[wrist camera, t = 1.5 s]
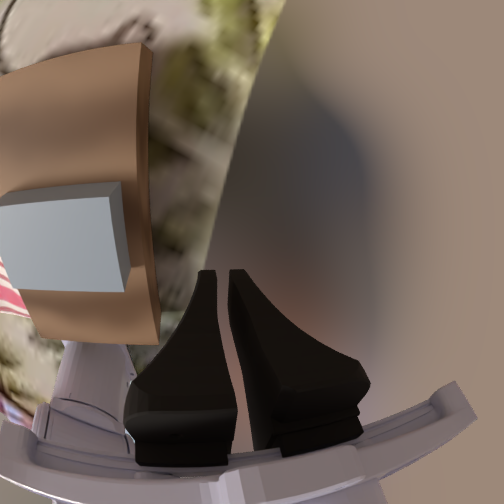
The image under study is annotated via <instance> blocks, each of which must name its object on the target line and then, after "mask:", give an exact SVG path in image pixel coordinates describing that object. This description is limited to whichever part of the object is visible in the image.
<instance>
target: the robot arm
mask: <svg viewBox="0 0 504 504" xmlns="http://www.w3.org/2000/svg"><path fill="white" fill-rule="evenodd" d="M228 314H229V322H230V327H231V331H232V335H233V339H234V343H235V347H236V351H237V355H238V358H239V362H240V366H241V370H242V375H243V381H244V387H245V393H246V399H247V406H248V412H249V419H250V426H251V432H252V440H253V447H254V451H252V452H245V453H235V454H231V447H232V441H233V440H234V433H235V427H236V420H237V412H238V409H237V403H236V397H235V392H234V389H233V386H232V382H231V379H230V375H229V371H228V367H227V363H226V359H225V354H224V350H223V346H222V340H221V335H220V329H219V324H218V318H217V277H216V272H215V270H200V271H199V272H198V279H197V283H196V286H195V290H194V292H193V295H192V297H191V300H190V303H189V305H188V307H187V309H186V311H185V313H184V315H183V317H182V319H181V321H180V323H179V324H178V326H177V328H176V329H175V331H174V333H173V334H172V336H171V337H170V338H169V340H168V341H167V343H166V344H165V346H164V347H163V348H162V350H161V351H160V352H159V353H158V354H157V356H156V357H155V358H154V359H153V360H152V361H151V363H150V364H149V365H148V366H147V367H146V368H145V369H144V370H143V371H142V372H141V373H140V374H139V375H138V376H137V373H136V371H135V368H134V365H133V363H132V360H131V357H130V354H129V352H128V349H127V346H126V344H106V343H90V342H77V341H66V340H62V342H63V344H64V346H65V350H64V354H63V357H62V360H61V364H60V367H59V371H58V375H57V378H56V382H55V386H54V390H53V394H52V399H51V402H50V404H48V403H46V402H42V403H41V404H38V405H37V408H36V411H35V415H34V420H33V424H32V429H31V430H30V429H28V428H26V427H24V426H21V425H18V424H15V423H12V422H9V421H6V420H3V422H2V427H1V431H0V477H2V478H4V479H6V480H7V481H9V482H11V483H13V484H15V485H17V486H20V487H22V488H24V489H26V490H28V491H31V492H33V493H36V494H38V495H41V496H44V497H47V498H50V499H52V500H53V504H388V503H387V501H386V498H385V495H384V493H383V490H382V488H381V485H380V483H379V480H381V479H383V478H385V477H387V476H389V475H391V474H393V473H395V472H397V471H399V470H401V469H403V468H405V467H407V466H409V465H411V464H412V463H414V462H416V461H418V460H419V459H421V458H423V457H425V456H426V455H428V454H430V453H431V452H433V451H434V450H436V449H438V448H439V447H440V446H442V445H444V444H445V443H447V442H448V441H450V440H451V439H452V438H454V437H455V436H457V435H458V434H459V433H461V432H462V431H463V430H464V429H466V428H467V427H468V426H469V425H471V424H472V423H473V422H474V421H476V420H477V416H476V414H475V413H474V411H473V409H472V407H471V406H470V404H469V402H468V400H467V399H466V397H465V395H464V394H463V392H462V391H461V389H460V387H459V386H458V384H457V383H456V381H452V382H451V383H449V384H447V385H445V386H443V387H441V388H440V389H438V390H437V391H436V392H434V394H432V396H431V397H430V398H429V399H428V400H426V401H424V402H422V403H419V404H417V405H415V406H413V407H411V408H408V409H406V410H404V411H401V412H399V413H397V414H394V415H392V416H389V417H386V418H384V419H381V420H379V421H376V422H373V423H370V424H368V425H365V426H361V424H360V421H359V419H358V417H357V416H358V415H359V414H360V411H359V409H358V407H357V405H358V403H359V402H360V401H361V400H362V398H363V397H364V396H365V395H366V393H367V392H368V390H369V388H370V384H371V383H370V381H369V379H368V377H367V375H366V373H365V370H364V369H363V367H362V366H361V364H360V362H359V361H358V360H355V359H353V358H351V357H348V356H346V355H344V354H341V353H339V352H337V351H335V350H333V349H331V348H330V347H328V346H326V345H324V344H322V343H321V342H319V341H317V340H316V339H314V338H313V337H311V336H310V335H308V334H307V333H305V332H304V331H302V330H301V329H300V328H298V327H297V326H296V325H294V324H293V323H292V322H291V321H290V320H288V319H287V318H286V317H285V316H284V315H283V314H282V313H281V312H280V311H279V310H278V309H277V308H276V307H275V306H274V305H273V304H272V303H271V302H270V301H269V300H268V299H267V298H266V296H265V295H264V294H263V293H262V292H261V291H260V289H259V288H258V287H257V286H256V284H255V283H254V282H253V280H252V279H251V278H250V276H249V275H248V274H247V272H246V271H245V270H244V269H234V270H230V272H229V288H228ZM130 380H133V381H132V382H131V384H130ZM125 428H126V430H127V431H128V432H129V434H130V435H131V436H132V438H133V439H134V440H135V443H134V442H133V440H132V438H131V436H130V435H128V434H125ZM194 476H195V477H194ZM198 476H203V477H198ZM180 477H193V478H180Z"/></svg>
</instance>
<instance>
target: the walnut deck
mask: <svg viewBox="0 0 504 504" xmlns="http://www.w3.org/2000/svg"><path fill="white" fill-rule="evenodd" d="M152 57H153V52H152V51H151V50H149V49H148V48H147V47H146V46H145V45H144V44H143V43H142V42H140V43H130V44H122V45H114V46H108V47H101V48H96V49H90V50H85V51H81V52H76V53H72V54H68V55H64V56H60V57H56V58H52V59H49V60H46V61H42V62H39V63H36V64H33V65H30V66H27V67H24V68H21V69H19V70H16V71H13V72H11V73H8V74H6V75H3V76H1V77H0V197H2V196H3V195H4V194H6V193H9V192H16V191H23V190H30V189H38V188H46V187H55V186H65V185H76V184H88V183H102V182H118V181H121V191H122V203H123V213H124V222H125V230H126V238H127V245H128V252H129V258H130V265H131V270H130V274H129V277H128V281H127V284H126V288H125V292H86V291H54V290H32V289H18V291H19V293H20V295H21V298H22V300H23V302H24V304H25V306H26V309H27V311H28V313H29V315H30V317H31V319H32V321H33V323H34V325H35V327H36V329H37V330H38V332H39V334H40V336H41V338H47V339H56V340H66V341H77V342H90V343H106V344H129V345H159V335H160V322H161V308H160V301H159V294H158V287H157V279H156V271H155V262H154V252H153V241H152V230H151V216H150V199H149V172H148V122H149V96H150V80H151V67H152Z"/></svg>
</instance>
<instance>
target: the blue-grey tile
mask: <svg viewBox="0 0 504 504" xmlns="http://www.w3.org/2000/svg"><path fill="white" fill-rule="evenodd" d="M0 257H1V259H2V262H3V265H4V268H5V270H6V273H7V275H8V278H9V280H10V283H11V285H12V288H14V289H32V290H54V291H86V292H125V288H126V284H127V281H128V277H129V274H130V270H131V265H130V258H129V252H128V245H127V238H126V230H125V222H124V213H123V203H122V191H121V181H118V182H102V183H88V184H76V185H65V186H55V187H46V188H38V189H30V190H23V191H16V192H9V193H6V194H4V195H3V196H2V197H0Z"/></svg>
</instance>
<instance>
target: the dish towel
mask: <svg viewBox="0 0 504 504" xmlns="http://www.w3.org/2000/svg"><path fill="white" fill-rule="evenodd" d="M0 312H1V313H6V314H15V315H19V316H22V317H27V318H31V317H30V315H29V313H28V311H27V309H26V306H25V304H24V302H23V300H22V298H21V295H20V293H19V291H18V289H14V288H12V285H11V283H10V280H9V278H8V275H7V273H6V270H5V268H4V265H3V262H2V259H1V257H0Z"/></svg>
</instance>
